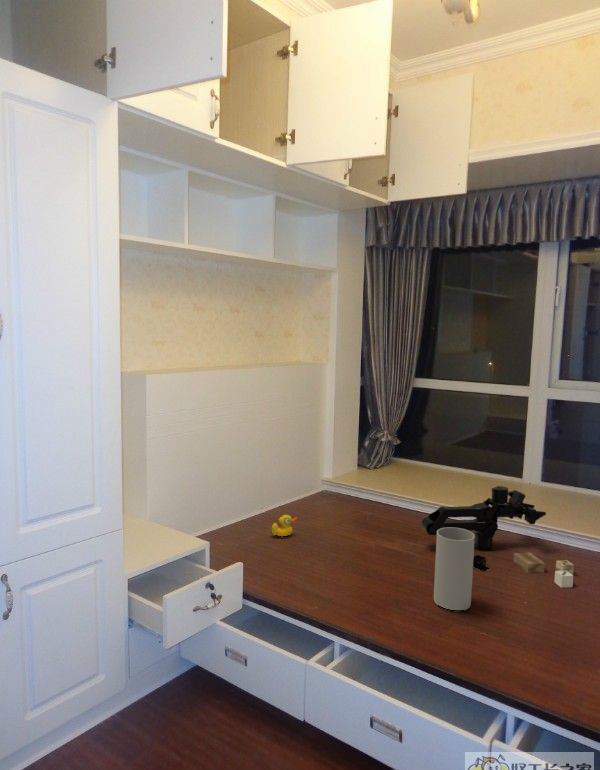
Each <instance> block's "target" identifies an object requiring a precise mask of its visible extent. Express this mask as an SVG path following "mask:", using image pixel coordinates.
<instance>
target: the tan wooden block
mask: <svg viewBox="0 0 600 770" xmlns="http://www.w3.org/2000/svg"><path fill="white" fill-rule="evenodd" d="M513 562H514V564H516V565H517V566H518V567H519V566H520V567H519V568H521V570H522V571H524V572H525V571H526V572H525V573H527V574H540V573H541V574H542V573H545V568H546V563H545V562H543V560H540V558H538V557H537V556H535V554H533V553H531V552H514V553H513Z"/></svg>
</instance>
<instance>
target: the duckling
mask: <svg viewBox="0 0 600 770" xmlns="http://www.w3.org/2000/svg"><path fill="white" fill-rule="evenodd" d="M297 518H298V517H296V516H295V517H294V518H292V517H291V515H289V514H284V515H282V516H281V517H279V518H278V522H279V523H280V525H281V527H279V526H278V525H279V524H278V523H277V522H273V524H272V525H271V532H272V534H273V536H275V535H278V536H287V535H289V536H291V534H292V533H293V527H292V526H291V524H295V523H296V522H297Z"/></svg>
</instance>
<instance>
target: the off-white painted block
mask: <svg viewBox="0 0 600 770" xmlns="http://www.w3.org/2000/svg"><path fill="white" fill-rule="evenodd" d="M554 583H555V584H556V585H558V586H559V587H560V588H563V587H564V588H573V586H574V585H573V583H574V574H573V575H572V574H570V573H569V572H568V571H556V570H555V571H554ZM564 588H563V589H564Z"/></svg>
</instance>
